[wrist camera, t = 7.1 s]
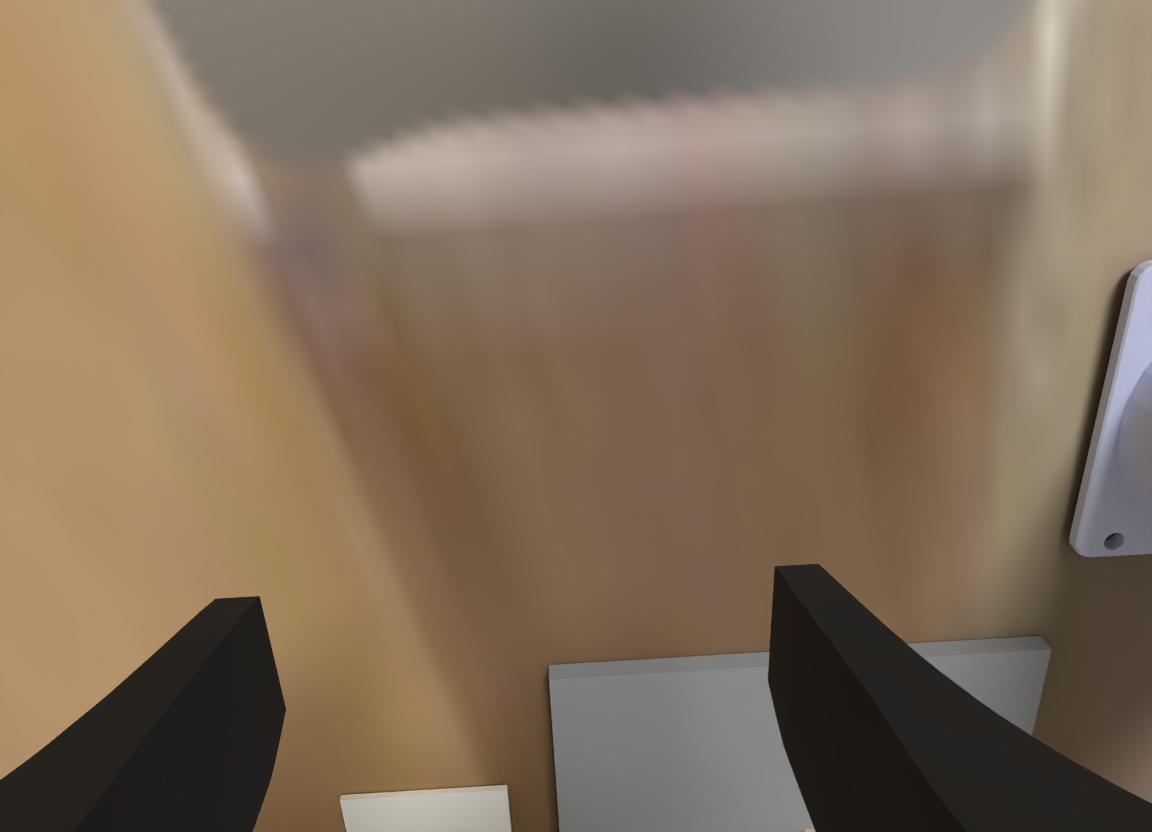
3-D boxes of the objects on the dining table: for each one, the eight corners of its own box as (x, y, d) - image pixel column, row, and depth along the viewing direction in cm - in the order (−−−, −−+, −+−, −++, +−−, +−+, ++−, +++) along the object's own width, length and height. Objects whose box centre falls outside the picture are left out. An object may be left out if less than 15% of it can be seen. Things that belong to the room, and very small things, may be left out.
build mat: (1041, 635, 26) (1051, 649, 25) (978, 916, 31) (985, 933, 31) (548, 664, 26) (548, 679, 25) (568, 943, 31) (568, 960, 30)
